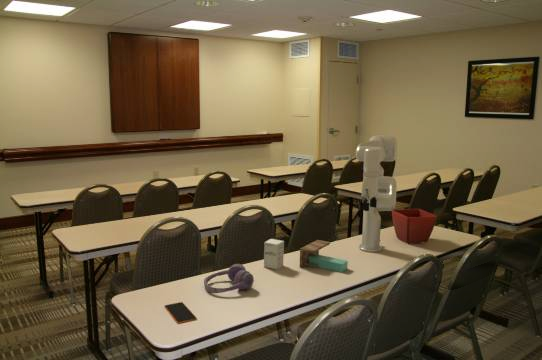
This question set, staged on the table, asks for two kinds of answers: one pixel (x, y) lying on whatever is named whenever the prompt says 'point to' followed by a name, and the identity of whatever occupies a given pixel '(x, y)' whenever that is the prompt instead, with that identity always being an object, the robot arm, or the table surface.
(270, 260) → the supplement box
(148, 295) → the table surface
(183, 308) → the smartphone
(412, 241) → the plant pot
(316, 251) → the overhang shelf
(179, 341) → the table surface
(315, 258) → the teal flat plank
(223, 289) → the headphones
